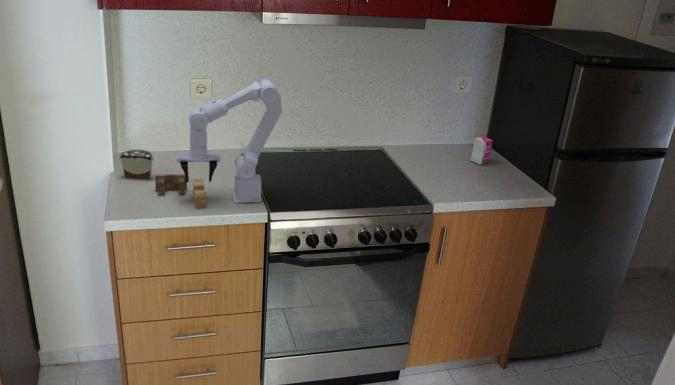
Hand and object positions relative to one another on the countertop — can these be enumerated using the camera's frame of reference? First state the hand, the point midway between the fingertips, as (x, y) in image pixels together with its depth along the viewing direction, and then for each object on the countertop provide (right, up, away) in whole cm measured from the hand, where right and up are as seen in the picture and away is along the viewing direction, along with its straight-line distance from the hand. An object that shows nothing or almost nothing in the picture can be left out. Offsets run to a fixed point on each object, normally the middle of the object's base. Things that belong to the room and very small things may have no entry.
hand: (198, 180), depth 210 cm
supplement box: (+113, +9, +60) cm, 128 cm away
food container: (-26, +2, +17) cm, 31 cm away
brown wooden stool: (-11, -4, +6) cm, 13 cm away
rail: (-1, -7, +3) cm, 8 cm away
